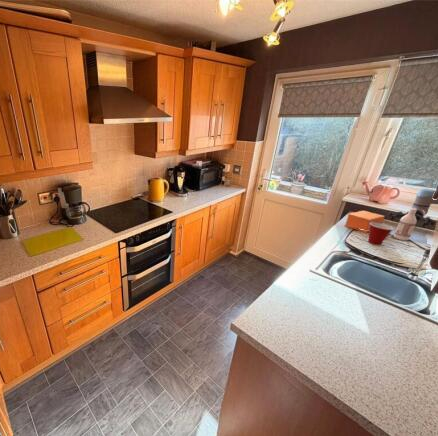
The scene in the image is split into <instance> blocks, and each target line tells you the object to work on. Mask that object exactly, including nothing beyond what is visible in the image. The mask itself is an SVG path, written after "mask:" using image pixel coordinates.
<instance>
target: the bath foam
mask: <svg viewBox="0 0 438 436" xmlns="http://www.w3.org/2000/svg"><path fill="white" fill-rule="evenodd" d="M408 211H409V212H408ZM408 211H407V212H408V214H407V215H405V216H403V217H402V218H400V219H399V221H398V224H397V226H396V229H395V231H394V233H393V238H395V239H397V240H400V241H410V238H411V236H412V234H413V231H414V229H415V227H416V225H417V222H418V221H417V220H416V217H415V213H416V211H417V209H413V208H412V207H410V208H409V210H408Z"/></svg>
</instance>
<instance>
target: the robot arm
mask: <svg viewBox="0 0 438 436" xmlns="http://www.w3.org/2000/svg"><path fill="white" fill-rule="evenodd" d="M434 192H435V189H431V188H420V189H419V191H418V192H417V194H416V197H415V199H414V201H413V203H412V205H411V208H413V209H417V211H416V213H415V217H416V220H417V222H420V223H422V228H425V227H426V226H432V227H433V226H435V225H436V221H435V220H434V219H432V218H431V217H430V216H426V215H428V212H429V209H430V207H431V206H432V205H438V199H437V200H433V199H432V196H433V194H434ZM408 212H409V210H408V211H407V212H403V211H393V212H389V213H388V217H390V218H391V219H390V220H391V221H394V220H396V218H397V219H398V218H399V219H401V218H402V217H403V216H405V215H407V214H408ZM425 216H426V217H425Z"/></svg>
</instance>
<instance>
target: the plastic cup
mask: <svg viewBox="0 0 438 436" xmlns="http://www.w3.org/2000/svg"><path fill="white" fill-rule="evenodd" d="M392 231H394V227H393V226H390V225H387V224H384V223H382V224H380V223H370V231H369V232H368V243H369V244H372V245H375V246H381V245H383V243H384V241H385V240H386V238H388V236H389V234H391V232H392Z"/></svg>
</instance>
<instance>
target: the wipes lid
mask: <svg viewBox="0 0 438 436" xmlns="http://www.w3.org/2000/svg"><path fill="white" fill-rule="evenodd" d="M349 215H351V216H354V217H358V218H361V219H365V220H368V221H370V220H375V219H379V218H383V217H384V218H385V216H386V215H382V214H378V213H375V212H370V211H367V210H358V211H355V212H350V213H347V216H349Z"/></svg>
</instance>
